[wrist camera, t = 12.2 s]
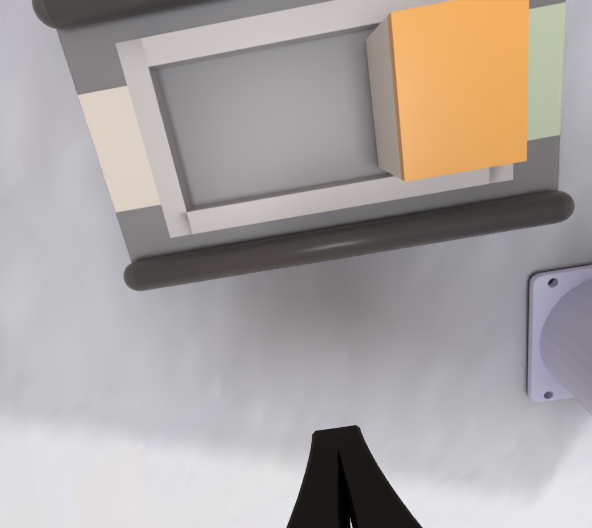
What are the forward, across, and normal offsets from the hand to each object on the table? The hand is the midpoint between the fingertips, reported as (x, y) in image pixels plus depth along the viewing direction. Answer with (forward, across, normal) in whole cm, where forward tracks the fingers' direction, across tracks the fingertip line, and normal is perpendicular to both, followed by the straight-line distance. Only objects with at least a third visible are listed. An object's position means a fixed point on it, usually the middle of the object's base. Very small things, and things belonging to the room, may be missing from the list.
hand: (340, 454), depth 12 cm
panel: (+10, -2, -10) cm, 14 cm away
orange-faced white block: (+9, -6, -10) cm, 14 cm away
